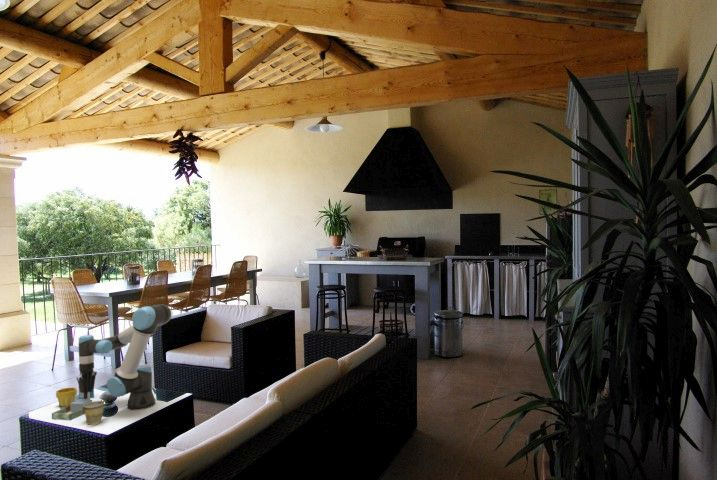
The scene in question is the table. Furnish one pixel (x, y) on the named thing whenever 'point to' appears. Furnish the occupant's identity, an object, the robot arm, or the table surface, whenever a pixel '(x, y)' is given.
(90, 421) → the ceramic cup
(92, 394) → the beverage bottle
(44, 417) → the table surface
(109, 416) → the table surface
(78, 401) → the slate block
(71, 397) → the plant pot
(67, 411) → the lane box
